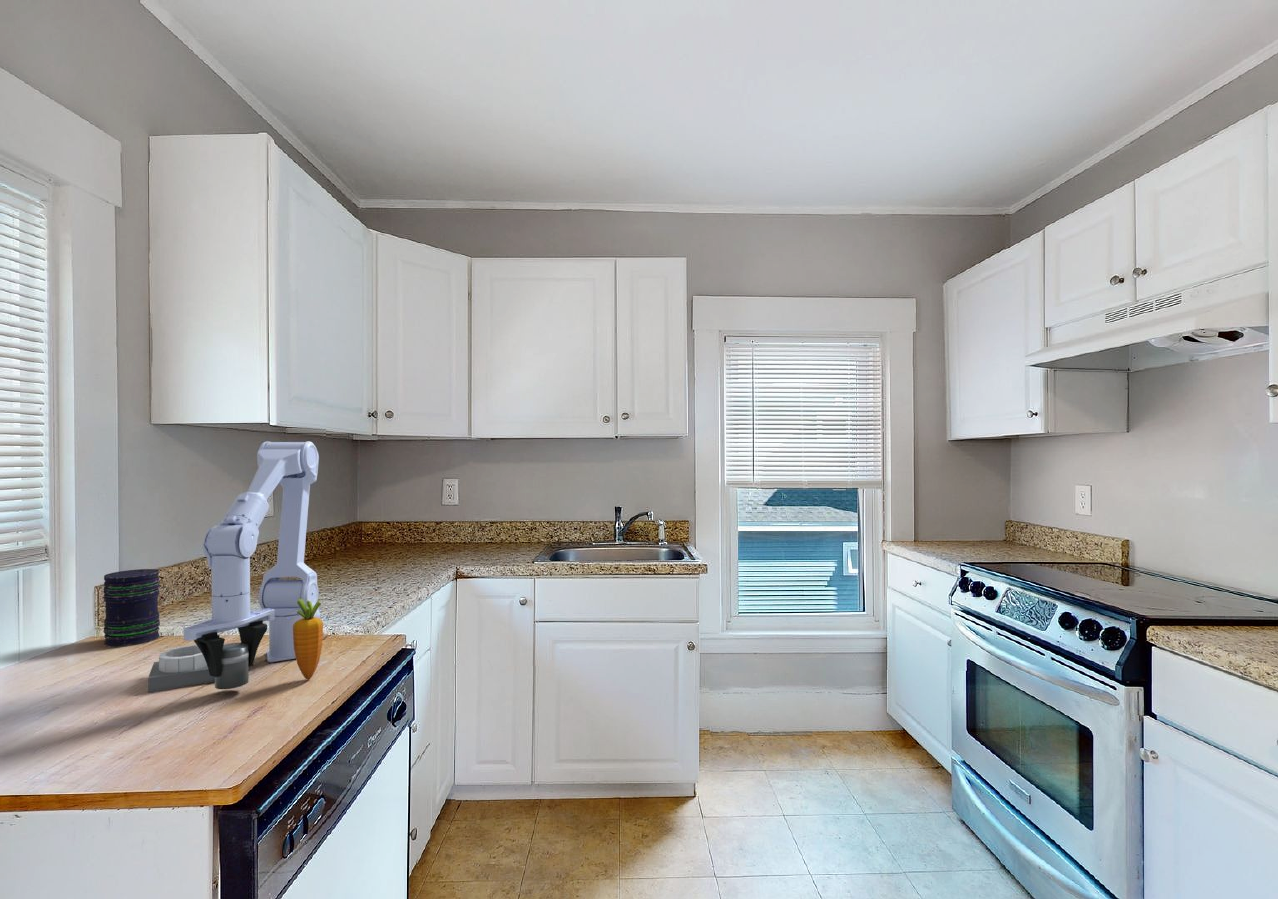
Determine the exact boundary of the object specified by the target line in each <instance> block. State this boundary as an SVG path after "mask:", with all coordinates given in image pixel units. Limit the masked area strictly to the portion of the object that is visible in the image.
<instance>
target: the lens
mask: <svg viewBox="0 0 1278 899" xmlns="http://www.w3.org/2000/svg"><path fill="white" fill-rule="evenodd" d="M248 657H249V653H248V644H247V643H241V642H232V643H226V644H225V643H224V645H223V650H222V657H221V665H222V671H221V676H219V677H215V682H214V688H215V689H217V690H231V689H236V688H237V689H238V688H240V687H242V686H245V685H247V684H249V682H250V681H249V679H250V677H249V674H250V673H249V670H250V669H249V667H248Z"/></svg>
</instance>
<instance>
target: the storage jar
mask: <svg viewBox="0 0 1278 899" xmlns="http://www.w3.org/2000/svg"><path fill="white" fill-rule="evenodd" d="M159 574H160V571H159V570H158V569H154V568H143V569H141V568H140V569H129V570H121V571H116V572H111V573H106V574H104V576H103V580H104V581H103V601H104V603H105V618H104V620H103V625H104V627H103V634H104V635H103V636H104V639H105V640H104V646H105V645H106V647H108V646H110V647H111V648H121V647H133V646H137V645H143V644H147V643H150V642H153V641H156V640H157V639H159V638H160V633H159V630H160V624H161V622H160V612H159V600H158V599H159V597H158V596H159V595H160V577H159ZM155 639H156V640H155Z"/></svg>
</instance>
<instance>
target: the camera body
mask: <svg viewBox="0 0 1278 899" xmlns="http://www.w3.org/2000/svg"><path fill="white" fill-rule="evenodd" d="M210 683H215V677H213V676H210V674H209V670H208V666H207V663H206V661H205V658H204V656H203V654H202V652H201V651H200V649H199V647H198V646H197V645H196V643H194V644H190V645H189V644H188V645H181V646H177V647H176V646H175V647H174V648H169V649H166V650H165V651H162V652H160V653H159V655H158V661H154V662H153V664H152V667H151V669H150V672H149V675H148V677H147V693H153V692H160V691H165V690H173V689H179V688H184V687H191V686H196V685H202V684H210Z"/></svg>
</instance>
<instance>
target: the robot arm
mask: <svg viewBox="0 0 1278 899" xmlns="http://www.w3.org/2000/svg"><path fill="white" fill-rule="evenodd" d="M256 460H257V461H256V462H257V467H258V468H257V470H256V472H255V475H253V476H254V477H253V478H252V481H251V483H250V485H249V487H248V489H247V491H246V492H241V493H239V494H238V495H236V497H235V499H234V501H233V502H232V504H231V506H230V507H229V509H228V510H227V512H226V514H225V515H224V517H223V519H222V520H221V522H220V523H219V524H216V525H215V526H213V527H212V528H210V529H209V530H207V532H206V534H205V535H204V540H203V541H204V542H203V543H202V550H203V553H204V555H205V556H206V561H207V567H208V568H209V569H210V570H211V574H210V575H211V576H210V577H211V578H210V579H211V618H210V619H208V620H206V621H202V622H200V623H197V624H194V625H190V626H187V627H184V628H183V640H185V641H187V642H188V641H189V642H194V644H196V645H197V646H198V647H199V649H200V651H201V652H202V654H203V656H204V658H205V661H206V663H207V666H208V670H209V674H210V676H213V677H219V676H221V671H222V665H221V657H222V650H223V645H225V641H226V639H225V638H224V637H220V634H219V633H223V632H227V631H228V632H229V631H231V630H235V629H238V633H239V638H240V639H239V640H240V643H247V644H248V653H249V657H248V668H251V667H253V666H254V664H255V663H254V662H255V658H256V654H257V652H258V648H259V647H260V646H259V645H260V644H261V643H262V642H261V641H262V640H263V638H264V636H265V634H266V633H267V631H268V634H269V636H268V638H269V640H268V643H269V646H268V647H269V648H268V649H266V651H265V652H266V658H267V663H275V662H281V661H288V660H294V659H296V656H295V651H294V642H293V625H294V623H295V622H296V621H298V620H299V619H301V618H304V617H302V616H301V615H300V614H298V613H297V611H302V609H301V608H300V606H299V605H298V603H297V601H298V600H299V599H302V600H303V601H304V603H305V605H306V607H308V605H307V603H306V602H307V601H311V603H312V606H313V607H314V605H315V604H316V603H317V602H318V599H319V586H318V573H317V572H316V571H314V570H313V569H312V568H311V567H309V566H308V565H307V564H306V563H305V554H306V553H305V551H306V539H307V538H306V537H307V528H308V526H307V525H308V514H309V512H308V511H309V503H310V492H311V490H310V489H311V485H312V484H314V483H315V482H317V478H318V472H319V462H320V461H319V460H320V456H319V451H318V449H317V447H316V445H315V444H314V443H313V442H312V441H305V442H304V441H285V442H284V441H268V440H267V441H263V443H261V445H260V446H259V448H258V451H257V453H256ZM278 485H280V486H281V488H282V499H281V512H280V523H279V531H278V532H279V534H278V542H277V543H278V544H277V556H276V564H275V565H274V566H273V567H271V568H270V569H269V570H267V571H266V572H265V573H263V578H262V583H261V586H260V588H259V591H258V596H257V597H258V598H257V599H258V603H259V606H260V608H261V609H257V610H251V556H252V555H253V554H254V553H255V551H256V549H257V547H258V546H257V545H258V538H259V536H260V530H259V528H260V526H261V524H262V522H263V520H264V518H265V517H266V515H267V514H268V511H269V510H270V504H269V502H268V499H269V497H270V496H271V495H272V493H273V492H274V490H275V489H276V487H277V486H278ZM282 578H298V579H282ZM302 612H303V611H302ZM313 617H317V618H319V619H321V614H320V609H319V608H318V609H317V611H316V613H315V615H314V616H313ZM266 621H267V622H268V623H269V624H267V623H264V622H266Z"/></svg>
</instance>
